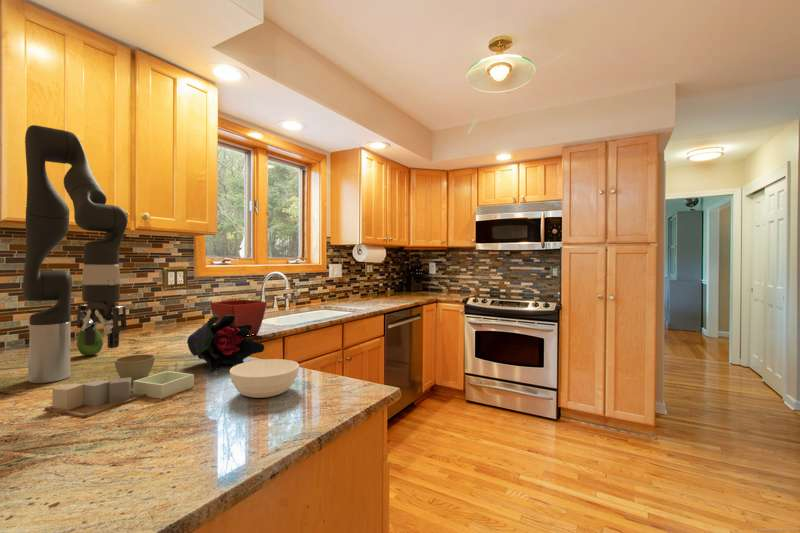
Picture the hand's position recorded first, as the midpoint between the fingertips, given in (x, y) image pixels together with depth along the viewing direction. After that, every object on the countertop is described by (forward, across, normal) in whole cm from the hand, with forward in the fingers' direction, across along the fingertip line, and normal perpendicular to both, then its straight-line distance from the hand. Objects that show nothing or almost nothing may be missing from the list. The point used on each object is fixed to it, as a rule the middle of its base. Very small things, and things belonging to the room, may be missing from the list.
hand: (101, 346), depth 95 cm
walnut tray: (+15, 0, 0) cm, 15 cm away
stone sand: (+14, -4, -5) cm, 15 cm away
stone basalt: (+14, +3, +3) cm, 15 cm away
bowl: (+15, +33, +21) cm, 42 cm away
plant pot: (+14, -32, +85) cm, 92 cm away
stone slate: (+14, -1, -1) cm, 14 cm away
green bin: (+15, +7, +12) cm, 20 cm away
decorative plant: (+15, +3, +39) cm, 42 cm away
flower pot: (+15, -10, +16) cm, 24 cm away
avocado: (+14, -56, +33) cm, 66 cm away
